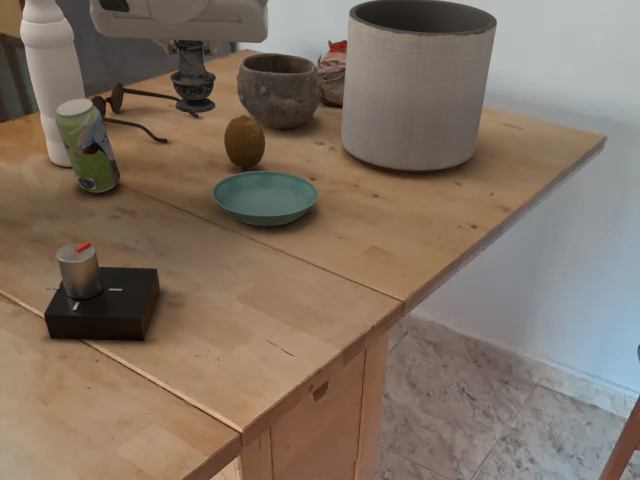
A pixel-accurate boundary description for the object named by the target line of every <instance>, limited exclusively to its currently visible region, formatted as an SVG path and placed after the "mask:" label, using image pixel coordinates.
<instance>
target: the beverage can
mask: <svg viewBox="0 0 640 480" xmlns="http://www.w3.org/2000/svg"><path fill="white" fill-rule="evenodd" d="M56 112H57V114H56V120H55V121H56V125H57V127H58V130H59V133H60V135H61V138H62V140H63V143H64V146H65V148H66V151H67V154H68V156H69V159H70V162H71V164H72V167H71V168H72V170H73V172H74V175H75V177H76V180H77V184H78V186H79V187H80V188H81V189H82V190H84V191H88V192H90V193H96V194H97V193H98V194H99V193H104V192H107V191H109V190H112V189H113V188H114V187H115V186H116V184H118V183H119V181H120V179H121V172H120V170H119V167H118V164H117V161H116V157H115V154H114V151H113V148H112V144H111V142H110V139H109V135H108V133H107V130H106V127H105V122H103V120H102V117H101V114H100V111H99V110H98V108H97V107H96V106H94V105H93V103H92V101H91V99H89V98H86V97H85V98H77V99H71V100H68V101H65V102H63V103H61V104H60V105H59V106H58V107H57V108H56Z"/></svg>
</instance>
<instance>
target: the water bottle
mask: <svg viewBox="0 0 640 480" xmlns="http://www.w3.org/2000/svg"><path fill="white" fill-rule="evenodd" d="M24 2H25V3H24V7H23V10H22V20H21V22H20V27H19V34H20V39H21V41H22V43H23V44H24V51H25V57H26V58H25V59H26V63H27V68H28V72H29V76H30V77H29V78H30V81H31V85H32V89H33V93H34V97H35V100H36V103H37V106H38V110H39V113H40V124H41V128H42V131H43V133H44V136H45V142H46V143H45V144H46V147H47V153H48V158H49V160H50V161H51V162H52V163H53V164H55V165H57V166H59V167H64V168H73V167H72V164H71V162H70V159H69V156H68V154H67V151H66V148H65V146H64V143H63V140H62V138H61V135H60V133H59V130H58V127H57V125H56V121H55V120H56V114H57V112H56V108H57V107H58V106H59V105H60V104H61V103H63V102H65V101H68V100H71V99H77V98H85V99H86V95H85V87H84V82H83V77H82V72H81V66H80V61H79V57H78V54H77V50H76V46H75V43H74V40H75V33H74V30H73V28H72V26H71V24H70V22H69V21H68V19H67V18H66V17H65V16H64V12H63V10H62V9H61V7H60V6H59V5H58V4H57V2H56V0H24Z"/></svg>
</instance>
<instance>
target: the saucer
mask: <svg viewBox="0 0 640 480" xmlns="http://www.w3.org/2000/svg"><path fill="white" fill-rule="evenodd" d="M211 197H212V199H213V201H214V202H215V203H216V205H217V206H218V207H219V208H220V210H222V211H223V212H224V213H225V214H226V215H228V216H229V217H230V218H232V219H234V220H236V221H238V222H241V223H243V224H247V225H251V226H256V227H257V226H259V227H260V226H261V227H275V226H282V225H286V224H289V223H292V222H294V221H297V220H298V219H300V218H301V217H303V216H304V215H305V214H307V212H308V211H309V210H310V209H311V208H312V207H313V206H314V205H315V203H316V202H317V200H318V198H319V191H318V188H317V187H316V186H315V185H314V184H313V183H312V182H310V181H309V180H308V179H305V178H304V177H300V176H299V175H296V174H291V173H287V172H282V171H273V170H252V171H244V172H239V173H236V174H232V175H229V176H227V177H225V178H222V179H221V180H220V181H218V182H217V183H215V185H214V186H213V188H212V191H211Z"/></svg>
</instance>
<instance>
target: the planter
mask: <svg viewBox="0 0 640 480" xmlns="http://www.w3.org/2000/svg"><path fill="white" fill-rule="evenodd" d="M347 21H348V22H347V23H348V24H347V39H346V41H347V54H346V70H345V84H344V98H343V107H342V113H341V114H342V115H341V128H340V129H341V131H340V133H341V134H340V139H341V145H342V147H343V148H344V150H345V151H346V152H347V153H348V154H349V156H351V157H352V158H354V159H355V160H356V161H358V162H359V163H361V164H363V165H365V166H367V167H370V168H372V169H375V170H379V171H383V172H388V173H393V174H401V175H410V176H411V175H413V176H416V175H417V176H418V175H419V176H420V175H434V174H440V173H445V172H448V171H451V170H454V169H455V168H458V167H460V166H461V165H463V164H465V163H466V162H468V161H469V160H470V159H471V158H472V157H473V155H474V154H475V150H476V145H477V141H478V135H479V130H480V124H481V118H482V112H483V107H484V100H485V94H486V87H487V81H488V75H489V71H490V65H491V60H492V55H493V47H494V42H495V37H496V31H497V27H498V20H497V19H496V17H495V16H494V15H493V14H491V13H490V12H488V11H485V10H483V9H481V8H478V7H476V6H475V7H474V6H472V5H468V4H463V3H458V2H454V1H453V2H452V1H447V0H370V1H365V2H362V3H361V2H360V3H359V4H358V3H357V4H356V5H354V6H353V7H351V8H350V9H349V11H348V20H347Z"/></svg>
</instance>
